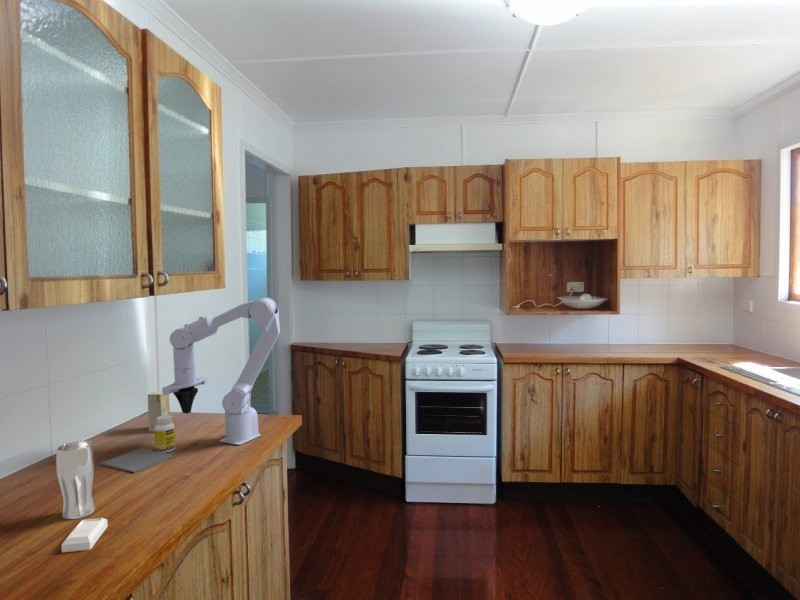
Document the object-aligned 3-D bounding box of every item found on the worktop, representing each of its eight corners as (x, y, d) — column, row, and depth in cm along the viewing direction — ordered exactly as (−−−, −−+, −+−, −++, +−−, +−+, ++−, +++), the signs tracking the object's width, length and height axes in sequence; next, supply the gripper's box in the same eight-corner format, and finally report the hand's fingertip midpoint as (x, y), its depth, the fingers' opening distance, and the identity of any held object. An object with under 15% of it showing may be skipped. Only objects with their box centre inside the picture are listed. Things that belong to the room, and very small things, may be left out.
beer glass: (73, 505, 120) (68, 440, 119) (103, 505, 120) (99, 440, 119) (52, 520, 113) (47, 451, 112) (84, 520, 113) (79, 451, 112)
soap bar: (62, 554, 101) (61, 540, 101) (81, 530, 110) (81, 517, 110) (90, 551, 102) (89, 538, 102) (107, 528, 111) (107, 515, 110)
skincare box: (162, 432, 170) (160, 394, 169) (148, 432, 170) (146, 394, 169) (171, 425, 176) (169, 389, 175) (158, 426, 176) (156, 389, 175)
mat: (141, 450, 154) (141, 448, 154) (172, 457, 148) (172, 455, 148) (101, 464, 144) (101, 462, 144) (133, 473, 138) (133, 470, 138)
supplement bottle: (168, 454, 151) (166, 420, 150) (151, 453, 152) (149, 419, 151) (179, 447, 156) (178, 414, 155) (163, 446, 157) (161, 413, 156)
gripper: (194, 362, 167) (196, 404, 169) (154, 371, 155) (156, 417, 156) (210, 364, 164) (212, 407, 165) (171, 373, 151) (173, 420, 152)
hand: (186, 412), depth 160 cm, fingers closed
